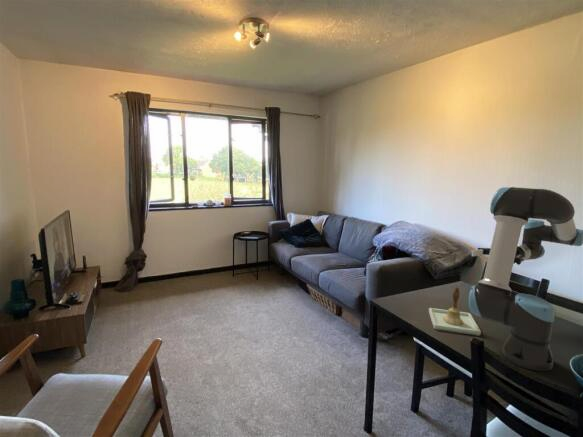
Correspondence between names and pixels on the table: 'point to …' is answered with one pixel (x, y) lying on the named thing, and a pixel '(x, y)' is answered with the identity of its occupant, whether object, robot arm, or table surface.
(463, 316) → the tray
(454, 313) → the hand bell
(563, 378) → the table surface
